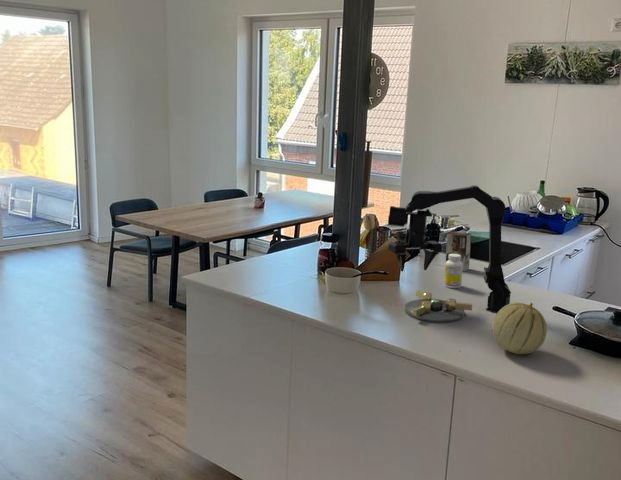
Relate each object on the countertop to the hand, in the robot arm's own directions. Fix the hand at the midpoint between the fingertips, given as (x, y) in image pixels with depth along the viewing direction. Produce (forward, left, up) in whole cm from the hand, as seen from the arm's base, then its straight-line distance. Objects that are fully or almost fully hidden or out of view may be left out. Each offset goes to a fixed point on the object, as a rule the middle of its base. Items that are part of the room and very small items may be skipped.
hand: (413, 270), depth 205 cm
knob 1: (-3, -2, -11) cm, 11 cm away
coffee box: (+13, -55, -13) cm, 58 cm away
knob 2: (-10, +10, -11) cm, 18 cm away
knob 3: (-17, -2, -11) cm, 21 cm away
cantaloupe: (-45, +14, -13) cm, 49 cm away
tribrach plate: (-10, +2, -13) cm, 16 cm away
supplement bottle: (+1, -30, -13) cm, 33 cm away
